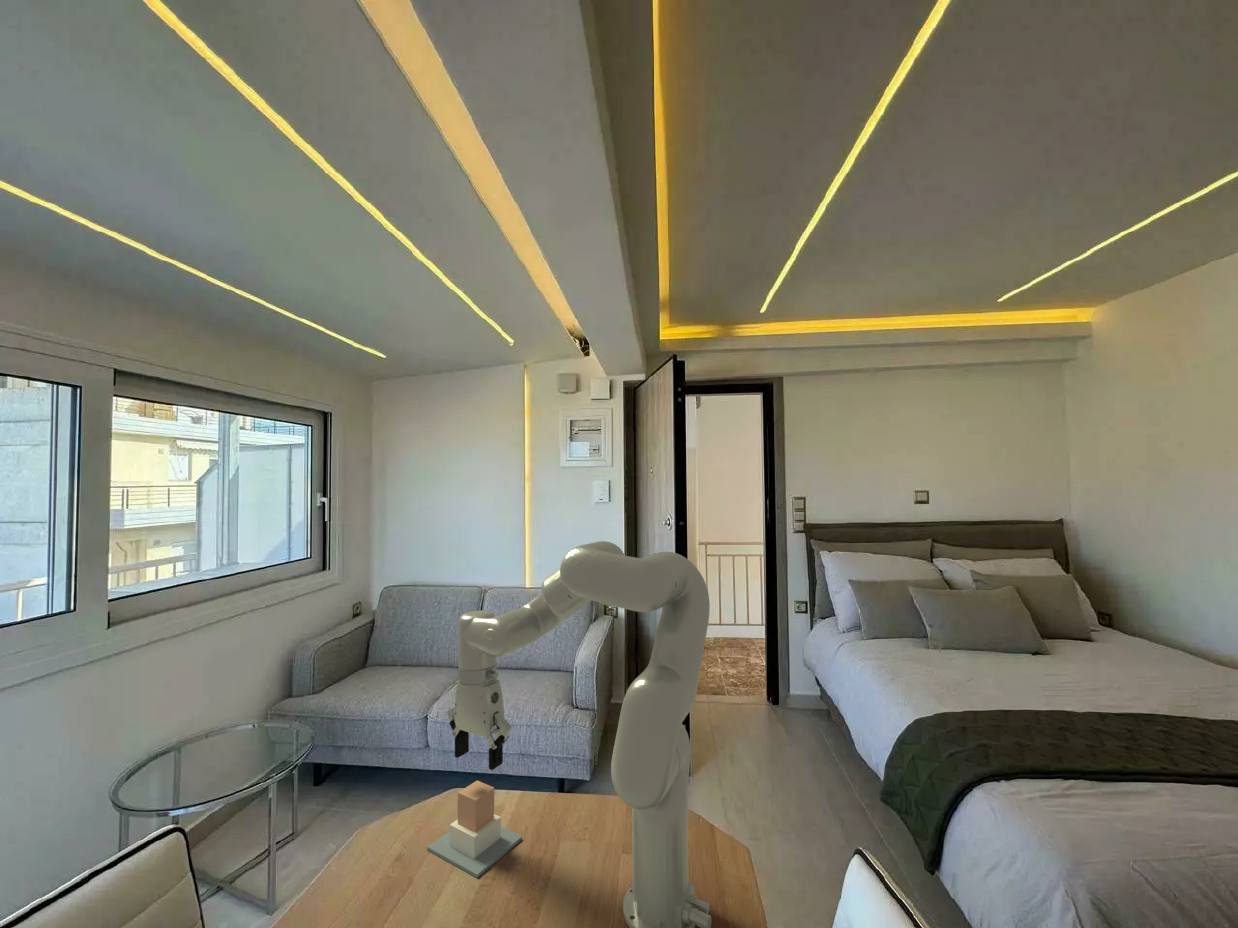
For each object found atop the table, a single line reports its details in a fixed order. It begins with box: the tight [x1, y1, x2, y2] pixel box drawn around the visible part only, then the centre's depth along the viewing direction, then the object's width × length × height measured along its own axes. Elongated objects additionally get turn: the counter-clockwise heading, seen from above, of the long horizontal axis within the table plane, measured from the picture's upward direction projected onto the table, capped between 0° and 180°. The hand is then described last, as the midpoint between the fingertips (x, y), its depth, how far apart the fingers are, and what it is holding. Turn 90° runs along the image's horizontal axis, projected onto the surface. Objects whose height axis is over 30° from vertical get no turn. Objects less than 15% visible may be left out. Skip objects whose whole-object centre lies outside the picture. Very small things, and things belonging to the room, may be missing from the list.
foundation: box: [426, 813, 523, 879], centre depth 100 cm, size 14×12×5 cm
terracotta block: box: [457, 780, 495, 832], centre depth 101 cm, size 5×5×6 cm
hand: (478, 760), depth 101 cm, fingers open, 9 cm apart
